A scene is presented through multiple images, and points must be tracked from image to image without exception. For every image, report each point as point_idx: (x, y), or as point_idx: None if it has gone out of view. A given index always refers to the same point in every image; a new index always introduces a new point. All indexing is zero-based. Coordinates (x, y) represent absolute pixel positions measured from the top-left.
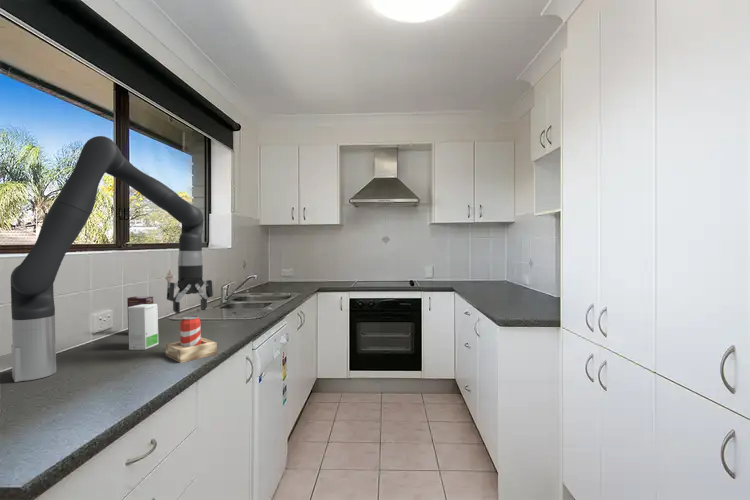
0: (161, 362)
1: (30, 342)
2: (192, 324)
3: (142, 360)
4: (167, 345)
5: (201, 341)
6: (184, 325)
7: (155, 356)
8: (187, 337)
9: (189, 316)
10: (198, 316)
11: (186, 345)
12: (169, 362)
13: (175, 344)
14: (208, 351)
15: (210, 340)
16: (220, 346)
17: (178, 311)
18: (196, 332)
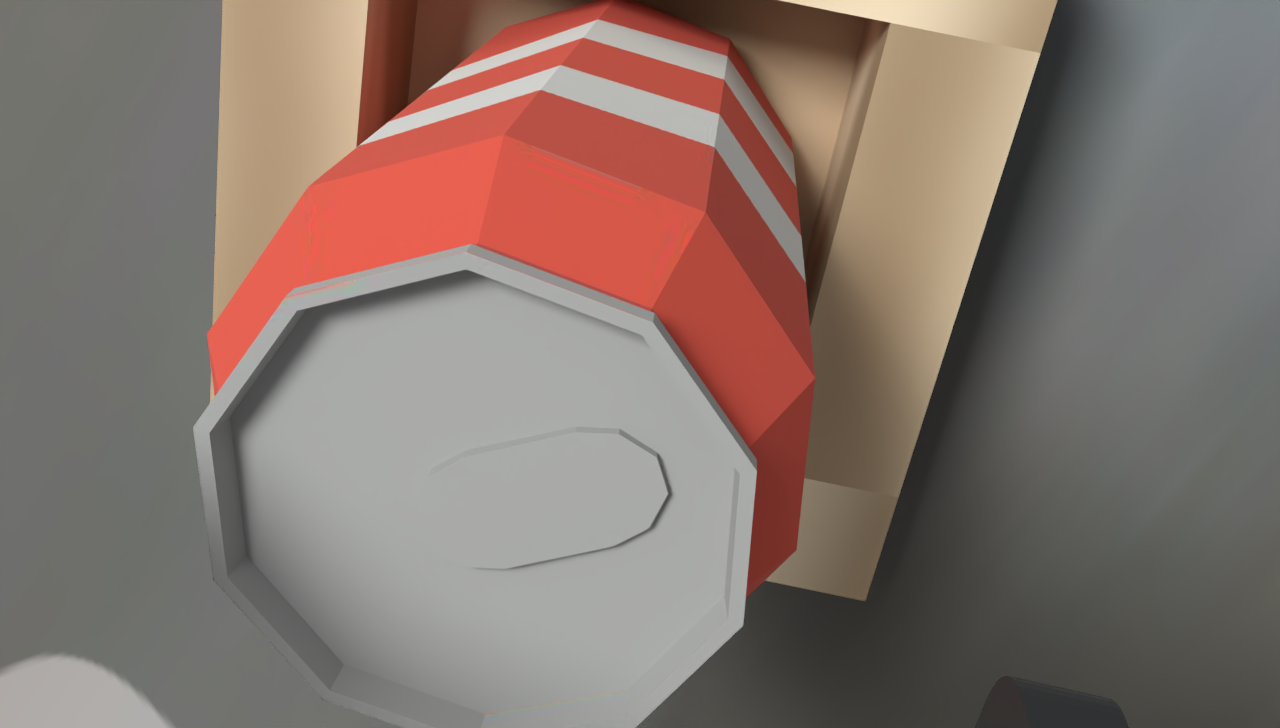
0: (1134, 228)
1: None
2: (623, 168)
3: (1166, 574)
4: (888, 519)
5: None
6: (796, 339)
7: (944, 585)
8: (753, 156)
9: (387, 699)
10: (212, 410)
11: (765, 134)
12: (1082, 104)
13: None
14: None
15: (221, 53)
16: (24, 152)
17: (1091, 721)
18: (548, 68)
